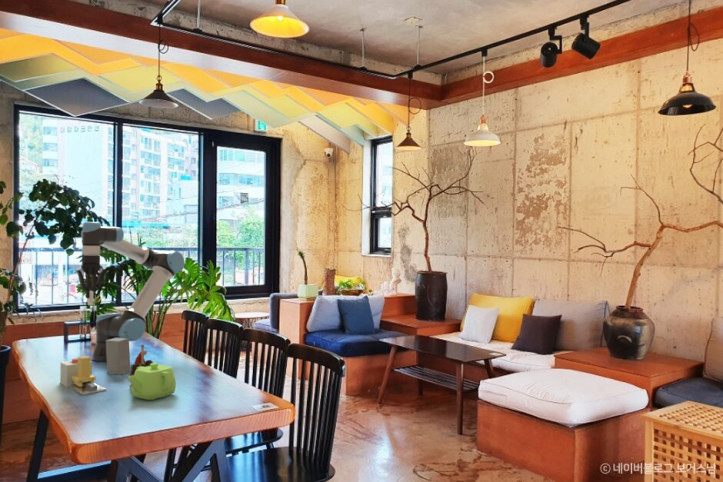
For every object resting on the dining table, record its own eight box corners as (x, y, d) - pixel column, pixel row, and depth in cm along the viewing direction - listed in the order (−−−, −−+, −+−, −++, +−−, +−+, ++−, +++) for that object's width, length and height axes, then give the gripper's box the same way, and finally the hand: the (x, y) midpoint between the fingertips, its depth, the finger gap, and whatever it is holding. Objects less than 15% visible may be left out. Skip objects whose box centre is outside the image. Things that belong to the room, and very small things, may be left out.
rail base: (91, 383, 235) (91, 377, 235) (105, 390, 224) (106, 384, 224) (68, 387, 228) (69, 381, 228) (82, 394, 218) (82, 388, 218)
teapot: (145, 407, 203) (145, 372, 203) (112, 398, 214) (112, 365, 214) (185, 396, 219) (185, 363, 219) (152, 388, 230) (153, 357, 230)
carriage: (89, 380, 234) (89, 354, 234) (95, 384, 229) (96, 357, 229) (71, 383, 229) (72, 356, 229) (77, 387, 224) (78, 359, 224)
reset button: (79, 369, 237) (79, 358, 237) (81, 370, 235) (82, 359, 235) (70, 370, 235) (70, 359, 235) (73, 372, 232) (73, 360, 232)
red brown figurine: (141, 392, 223) (142, 348, 223) (123, 389, 226) (124, 346, 226) (159, 385, 233) (160, 343, 233) (142, 383, 236) (142, 341, 236)
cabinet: (85, 379, 241) (85, 358, 241) (92, 382, 236) (92, 362, 235) (60, 383, 234) (60, 362, 234) (67, 387, 228) (67, 365, 228)
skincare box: (130, 372, 255) (131, 338, 255) (118, 375, 248) (118, 340, 248) (117, 370, 258) (118, 336, 258) (104, 373, 252) (105, 339, 252)
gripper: (102, 254, 265) (101, 303, 266) (73, 254, 256) (72, 305, 256) (108, 254, 260) (107, 304, 260) (79, 255, 251) (78, 306, 251)
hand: (90, 305), depth 258 cm, fingers closed
